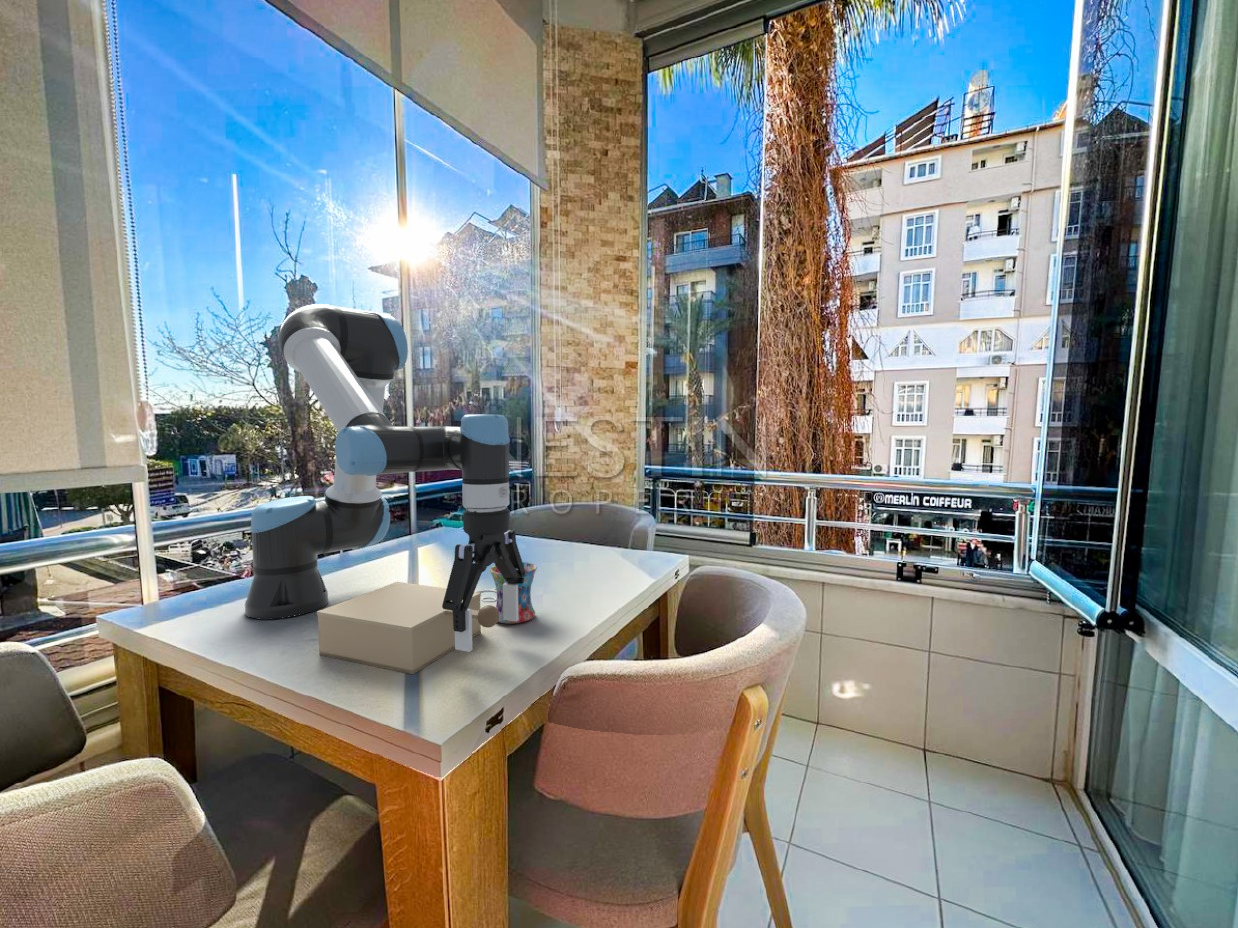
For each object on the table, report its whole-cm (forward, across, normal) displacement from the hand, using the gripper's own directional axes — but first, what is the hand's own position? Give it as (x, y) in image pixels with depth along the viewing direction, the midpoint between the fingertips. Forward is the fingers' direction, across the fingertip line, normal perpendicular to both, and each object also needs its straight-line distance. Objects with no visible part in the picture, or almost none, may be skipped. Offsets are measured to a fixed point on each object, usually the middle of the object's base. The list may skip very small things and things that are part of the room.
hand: (488, 633), depth 89 cm
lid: (-1, 0, +13) cm, 13 cm away
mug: (+4, +19, +6) cm, 20 cm away
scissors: (+5, +28, +25) cm, 38 cm away
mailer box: (+4, 0, +18) cm, 19 cm away
